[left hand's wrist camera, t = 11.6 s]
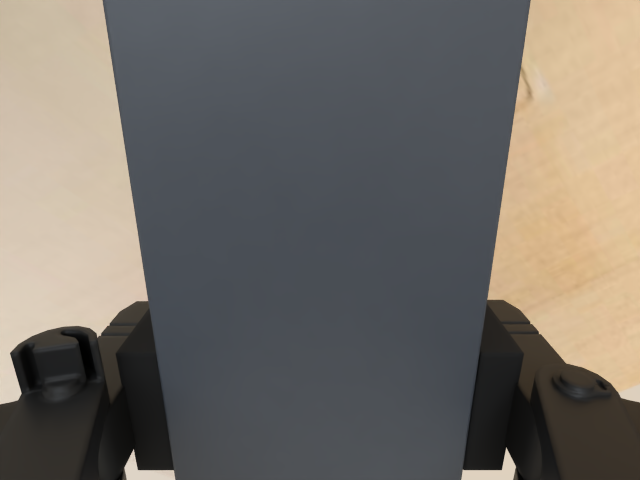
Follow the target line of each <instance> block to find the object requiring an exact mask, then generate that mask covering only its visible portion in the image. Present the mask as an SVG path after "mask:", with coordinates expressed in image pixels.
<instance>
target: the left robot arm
mask: <svg viewBox="0 0 640 480" xmlns="http://www.w3.org/2000/svg"><path fill="white" fill-rule="evenodd" d="M10 355H11V358H12V361H13V365H14V368H15V372H16V375H17V379H18V382H19V385H20V389H21V392H22V394H21V396H20V398H19V400H18V401H14V402H10V403H5V404H1V405H0V480H126V474H125V469H124V467H125V465H126V463H127V461H128V459H129V457H130V455H131V453H132V451H133V449H134V452H135V457H136V462H137V467H138V470H174V466H173V460H172V453H171V446H170V440H169V433H168V427H167V420H166V414H165V407H164V400H163V394H162V387H161V381H160V374H159V367H158V361H157V354H156V348H155V341H154V335H153V328H152V321H151V315H150V308H149V302H148V301H137V302H135V303H133V304H132V305H130V306H129V307H127V308H125V309H124V310H122V311H120V312H119V313H118V315H117V316H116V317H115V318H114V319H113V320H112V322H111V323H110V326H107V327H106V329H105V330H104V331H103V332H102V333H101V336H99V337H98V338H97V334H96V333H95V332H94V331H93V330H91V329H90V328H86V327H81V326H70V327H61V328H56V329H52V330H47V331H45V332H42V333H39V334H37V335H34V336H32V337H30V338H28V339H27V340H25V341H23V342H22V343H20V344H18V345H17V347H16V348H15V349H14V350H13V351H12V352H11V353H10ZM506 447H507V449H508V451H509V453H510V455H511V457H512V459H513V461H514V463H515V465H516V469H515V474H514V479H513V480H640V403H639V402H635V401H630V400H626V399H622V398H621V397H620V395H619V393H618V392H617V391H616V390H615V388H614V387H613V386H612V385H611V383H609V382H608V381H606V380H605V379H604V378H602V377H601V376H599V375H598V374H596V373H593V372H591V371H589V370H587V369H584V368H582V367H578V366H574V365H570V364H566V363H565V362H564V361H563V359H562V358H561V357H560V356H559V355H558V354H557V352H556V351H555V350H554V349H553V348H552V347H551V346H550V344H549V343H548V342H547V341H546V340H545V339H544V337H543V336H542V335H541V334H539V332H538V330H537V329H536V328H535V327H534V326H533V325H532V324H530V321H529V320H528V319H527V318H526V317H525V315H524V314H523V313H522V312H521V311H520V310H519V309H517V308H516V307H514V306H512V305H511V304H509V303H507V302H506V301H504V300H487V304H486V311H485V318H484V325H483V332H482V339H481V346H480V353H479V360H478V367H477V373H476V380H475V387H474V394H473V401H472V408H471V415H470V422H469V429H468V436H467V443H466V449H465V456H464V463H463V470H502V466H503V461H504V455H505V450H506Z"/></svg>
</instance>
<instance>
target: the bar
mask: <svg viewBox="0 0 640 480" xmlns="http://www.w3.org/2000/svg"><path fill="white" fill-rule="evenodd" d="M103 5H104V12H105V19H106V25H107V32H108V38H109V45H110V51H111V58H112V65H113V71H114V78H115V84H116V91H117V98H118V104H119V111H120V117H121V124H122V130H123V137H124V144H125V150H126V157H127V163H128V170H129V177H130V183H131V190H132V196H133V203H134V209H135V216H136V223H137V229H138V236H139V242H140V249H141V256H142V262H143V269H144V275H145V282H146V288H147V295H148V302H149V308H150V315H151V321H152V328H153V335H154V341H155V348H156V354H157V361H158V367H159V374H160V381H161V387H162V394H163V400H164V407H165V414H166V420H167V427H168V433H169V440H170V446H171V453H172V460H173V466H174V473H175V479H176V480H461V477H462V470H463V463H464V456H465V449H466V443H467V436H468V429H469V422H470V415H471V408H472V401H473V394H474V387H475V380H476V373H477V367H478V360H479V353H480V346H481V339H482V332H483V325H484V318H485V311H486V304H487V298H488V291H489V284H490V277H491V270H492V263H493V256H494V249H495V242H496V235H497V228H498V222H499V215H500V208H501V201H502V194H503V187H504V180H505V173H506V166H507V159H508V152H509V146H510V139H511V132H512V125H513V118H514V111H515V104H516V97H517V90H518V83H519V76H520V70H521V63H522V56H523V49H524V42H525V35H526V28H527V21H528V14H529V7H530V0H103Z"/></svg>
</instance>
